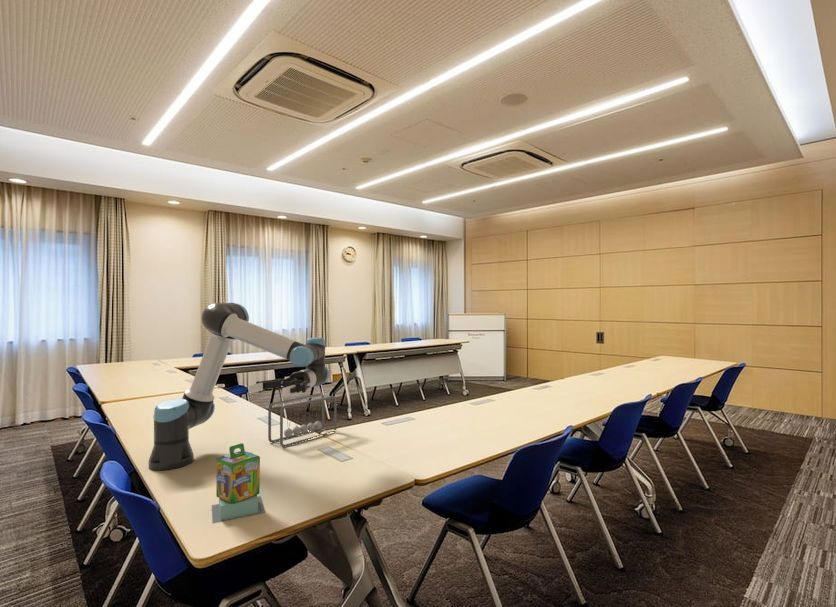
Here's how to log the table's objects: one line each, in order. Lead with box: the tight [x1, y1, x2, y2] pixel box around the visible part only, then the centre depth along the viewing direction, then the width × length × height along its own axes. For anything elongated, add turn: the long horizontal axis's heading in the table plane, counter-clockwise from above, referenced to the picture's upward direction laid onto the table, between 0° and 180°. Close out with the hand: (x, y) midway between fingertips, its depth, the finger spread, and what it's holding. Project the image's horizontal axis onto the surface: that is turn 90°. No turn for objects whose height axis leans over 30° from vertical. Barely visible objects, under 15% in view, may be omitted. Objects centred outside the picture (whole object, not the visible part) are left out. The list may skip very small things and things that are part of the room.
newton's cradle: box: [267, 393, 338, 448], centre depth 199 cm, size 30×10×18 cm, turn 139°
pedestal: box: [218, 495, 259, 520], centre depth 129 cm, size 10×10×4 cm
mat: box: [211, 495, 266, 524], centre depth 129 cm, size 14×12×1 cm
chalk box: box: [215, 442, 261, 504], centre depth 129 cm, size 9×9×15 cm
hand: (265, 391), depth 147 cm, fingers open, 13 cm apart
